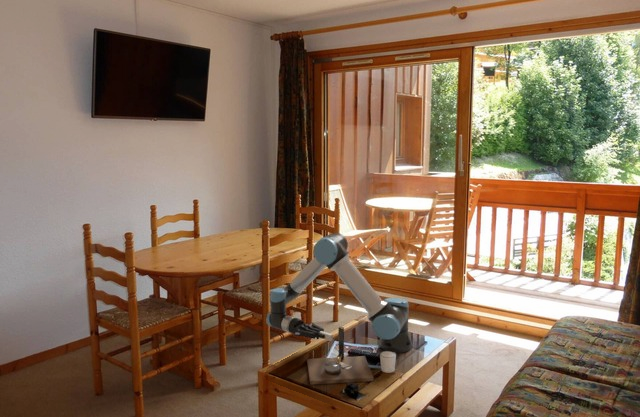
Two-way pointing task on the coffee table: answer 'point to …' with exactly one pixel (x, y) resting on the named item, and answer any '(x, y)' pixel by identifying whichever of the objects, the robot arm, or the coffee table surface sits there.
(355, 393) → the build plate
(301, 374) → the coffee table surface
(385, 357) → the shot glass
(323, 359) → the crank stand
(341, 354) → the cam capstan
